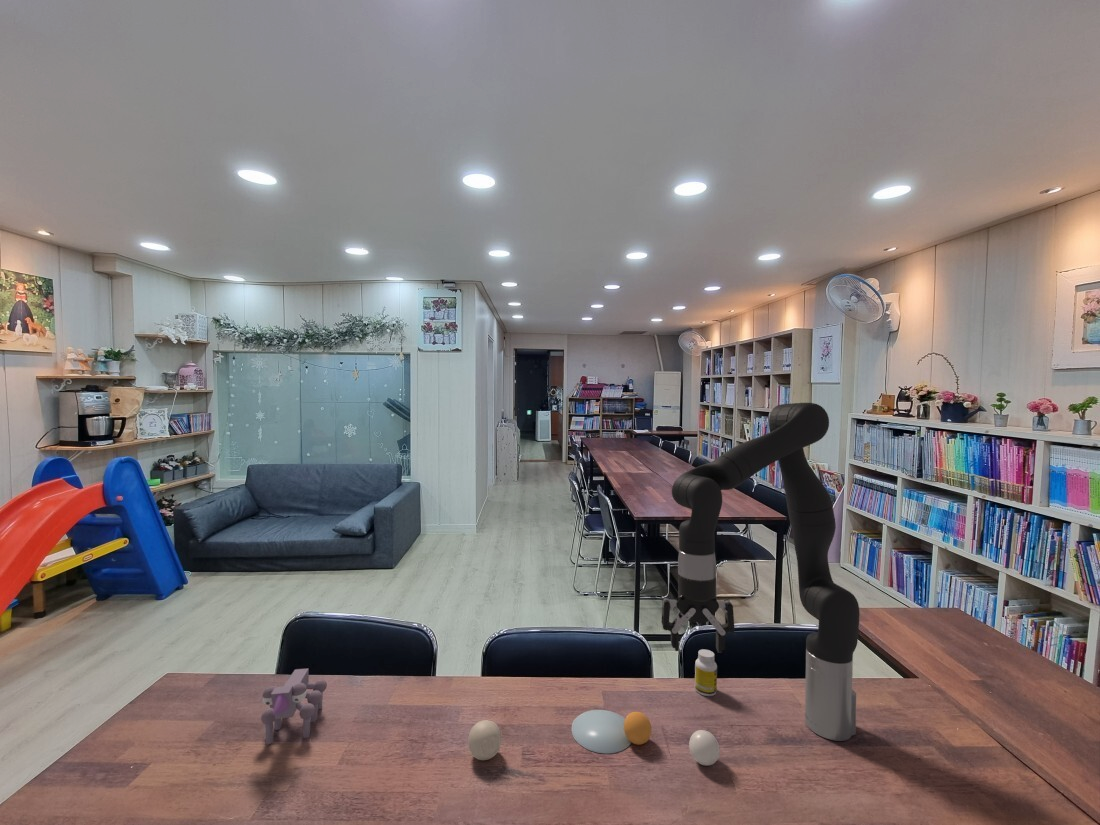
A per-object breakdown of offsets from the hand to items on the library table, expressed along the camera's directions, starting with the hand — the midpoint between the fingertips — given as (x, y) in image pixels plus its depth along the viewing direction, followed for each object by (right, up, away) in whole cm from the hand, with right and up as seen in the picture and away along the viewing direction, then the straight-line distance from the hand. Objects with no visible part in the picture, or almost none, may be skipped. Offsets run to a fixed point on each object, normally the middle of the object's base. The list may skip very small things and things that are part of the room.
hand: (697, 650), depth 97 cm
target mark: (-19, -23, +9) cm, 31 cm away
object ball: (-11, -20, +6) cm, 24 cm away
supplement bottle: (+10, -23, +24) cm, 35 cm away
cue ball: (+1, -20, 0) cm, 20 cm away
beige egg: (-44, -23, +1) cm, 50 cm away
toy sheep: (-88, -22, +6) cm, 91 cm away
